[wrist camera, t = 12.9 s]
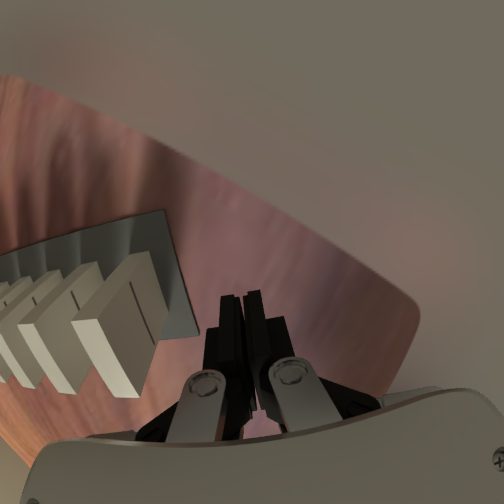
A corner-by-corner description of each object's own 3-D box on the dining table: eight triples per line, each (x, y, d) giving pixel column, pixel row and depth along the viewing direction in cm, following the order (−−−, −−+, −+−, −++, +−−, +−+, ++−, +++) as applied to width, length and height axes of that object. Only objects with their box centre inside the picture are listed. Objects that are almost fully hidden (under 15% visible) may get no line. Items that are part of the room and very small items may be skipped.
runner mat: (199, 334, 21) (199, 336, 21) (3, 343, 21) (2, 344, 21) (164, 209, 17) (163, 209, 17) (-32, 267, 17) (-33, 268, 17)
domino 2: (59, 269, 18) (-4, 325, 10) (81, 321, 20) (35, 388, 12) (46, 271, 18) (-15, 325, 10) (69, 323, 20) (22, 386, 12)
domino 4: (148, 250, 18) (97, 318, 10) (168, 312, 20) (140, 397, 12) (128, 254, 18) (70, 321, 10) (149, 315, 20) (114, 397, 12)
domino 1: (30, 275, 18) (-29, 326, 10) (51, 324, 20) (5, 383, 12) (20, 277, 18) (-37, 326, 10) (41, 324, 20) (-4, 380, 12)
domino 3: (96, 260, 18) (33, 323, 10) (119, 318, 20) (76, 394, 12) (80, 264, 18) (16, 324, 10) (103, 320, 20) (58, 392, 12)
